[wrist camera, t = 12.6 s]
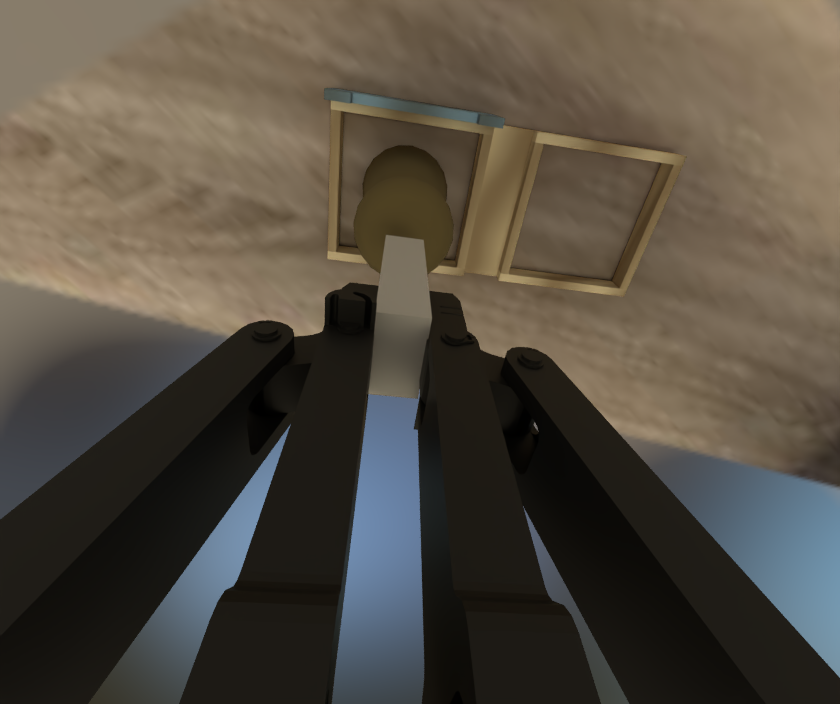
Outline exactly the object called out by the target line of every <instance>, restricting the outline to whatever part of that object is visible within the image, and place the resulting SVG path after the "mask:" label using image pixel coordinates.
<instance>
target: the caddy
mask: <svg viewBox="0 0 840 704" xmlns="http://www.w3.org/2000/svg"><path fill="white" fill-rule="evenodd" d="M324 99H325V100H331V126H330V172H329V217H328V259H332V260H339V261H347V262H355V263H363V264H368V263H367V262H366V261H365V260H364V258H363V257H362V256H361V254H360V251H359V249H358V248H354V247H346V246H339V231H340V204H341V177H342V150H343V123H344V111H345V112H351V113H357V114H363V115H369V116H376V117H382V118H388V119H394V120H400V121H406V122H413V123H419V124H425V125H431V126H437V127H443V128H450V129H456V130H462V131H468V132H474V133H480V136H479V141H478V146H477V151H476V156H475V161H474V166H473V171H472V176H471V181H470V186H469V192H468V197H467V202H466V207H465V212H464V217H463V222H462V227H461V232H460V237H459V242H458V247H457V252H456V258H455V261H454V260H446V259H443V261H442V262H441V263H440V264H439V266H438V267H437V268H436V269H434V270H433V271H431V272H434V273H442V274H450V275H458V276H463V274H464V272H468V273H476V274H484V275H491V276H497V278H498V280H499V281H505V282H513V283H521V284H529V285H537V286H544V287H552V288H560V289H568V290H576V291H584V292H592V293H600V294H608V295H615V296H623V297H624V295H625V293H626V290H627V288H628V286H629V284H630V281H631V279H632V277H633V275H634V273H635V270H636V268H637V266H638V264H639V261H640V259H641V257H642V255H643V253H644V250H645V248H646V246H647V244H648V241H649V239H650V237H651V235H652V233H653V230H654V228H655V226H656V224H657V221H658V219H659V217H660V215H661V213H662V210H663V208H664V206H665V204H666V202H667V199H668V197H669V195H670V193H671V190H672V188H673V186H674V184H675V182H676V179H677V177H678V175H679V173H680V170H681V168H682V166H683V164H684V162H685V159H686V157H687V156H683V155H679V154H675V153H669V152H663V151H657V150H651V149H645V148H639V147H633V146H627V145H621V144H615V143H609V142H603V141H596V140H590V139H584V138H578V137H572V136H566V135H560V134H554V133H548V132H542V131H536V130H530V129H524V128H518V127H512V126H506V125H504V121H505V118H503V117H499V116H496V115H493V114H487V113H481V112H475V111H469V110H463V109H457V108H451V107H445V106H439V105H433V104H427V103H422V102H416V101H410V100H404V99H398V98H392V97H386V96H380V95H374V94H368V93H362V92H356V91H350V90H344V89H338V88H324ZM544 144H548V145H555V146H561V147H567V148H573V149H579V150H585V151H592V152H598V153H604V154H610V155H616V156H622V157H629V158H635V159H641V160H647V161H653V162H659V163H661V166H660V168H659V170H658V173H657V175H656V177H655V180H654V182H653V185H652V187H651V189H650V192H649V194H648V196H647V199H646V201H645V203H644V206H643V208H642V211H641V213H640V215H639V218H638V220H637V222H636V225H635V227H634V229H633V232H632V234H631V236H630V239H629V241H628V244H627V246H626V248H625V251H624V253H623V255H622V258H621V260H620V262H619V265H618V267H617V270H616V272H615V274H614V277H613V279H612V281H607V280H599V279H592V278H584V277H576V276H569V275H561V274H553V273H546V272H538V271H530V270H523V269H515V268H510V266H511V263H512V259H513V255H514V252H515V248H516V245H517V241H518V237H519V234H520V230H521V226H522V223H523V219H524V215H525V212H526V208H527V205H528V201H529V197H530V194H531V190H532V186H533V183H534V179H535V176H536V172H537V168H538V165H539V161H540V157H541V154H542V150H543V146H544Z"/></svg>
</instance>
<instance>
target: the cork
mask: <svg viewBox="0 0 840 704" xmlns="http://www.w3.org/2000/svg"><path fill="white" fill-rule="evenodd" d="M446 197H447V184H446V180H445V176H444V172H443V170H442V169H441V167H440V165H439V164H438V162H437V161H436V160H435V159H434V158H433V157H432V156H431V155H430V154H428V153H427V152H426V151H424V150H422V149H419V148H417V147H414V146H395V147H392V148H389V149H386V150H384V151H383V152H382V153H380V154H379V155H378V156H377V157H375V158H374V159H373V161H372V162H371V164H370V166H369V167H368V169H367V170H366V174H365V177H364V181H363V199H362V201H361V202H360V204H359V205H358V207H357V211H356V215H355V219H354V239H355V241H356V244H357V246H358V249H359V251H360V254H361V256H362V257H363V258H364V260H365V261H366V262H367V263H368V265H369V266H370V267H371V268H373V269H374V270H376V271H377V272H378V273H381V266H382V259H383V252H384V245H385V238H386V235H391V236H398V237H406V238H413V239H421V240H424V248H425V257H426V267H427V274H428V273H430V272H431V271H433V270H434V269H436V268H437V267H438V266H439V264H440V263H441V262H442V261H443V259H444V258H445V257H446V255H447V253H448V251H449V248H450V246H451V243H452V241H453V227H454V224H453V220H452V216H451V212H450V208H449V206H448V204H447V203H446Z"/></svg>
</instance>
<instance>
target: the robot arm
mask: <svg viewBox="0 0 840 704" xmlns="http://www.w3.org/2000/svg"><path fill="white" fill-rule="evenodd" d="M419 388H420V398H419V404H418V409H417V415H416V420H415V426H414V429H417V430H418V446H419V447H418V448H419V486H420V523H421V558H422V594H423V630H424V631H423V632H424V688H423V696H422V704H601V702H600V699H599V696H598V693H597V690H596V686H595V683H594V680H593V677H592V674H591V670H590V667H589V664H588V661H587V658H586V654H585V651H584V648H583V645H582V642H581V638H580V635H579V632H578V630H577V627H576V625H575V623H574V620H573V618H572V616H571V614H570V613H569V611H568V610H567V609H566V608H565V606H564V605H562V604H559V603H557V602H554V601H552V600H551V598H550V597H549V596H548V593H547V591H546V588H545V585H544V581H543V578H542V574H541V570H540V566H539V563H538V559H537V555H536V552H535V548H534V544H533V541H532V537H531V534H530V530H529V527H528V523H527V519H526V515H525V512H524V508H525V510H526V512H527V514H528V516H529V518H530V519H531V521H532V523H533V525H534V527H535V529H536V530H537V533H538V534H539V536H540V538H541V540H542V542H543V544H544V546H545V547H546V549H547V551H548V553H549V555H550V556H551V558H552V560H553V562H554V564H555V566H556V568H557V570H558V572H559V573H560V575H561V577H562V579H563V581H564V583H565V584H566V586H567V588H568V590H569V592H570V594H571V596H572V598H573V599H574V601H575V603H576V605H577V607H578V609H579V611H580V612H581V614H582V616H583V618H584V620H585V622H586V624H587V625H588V627H589V629H590V631H591V633H592V635H593V637H594V639H595V640H596V642H597V644H598V646H599V648H600V650H601V652H602V653H603V655H604V657H605V659H606V661H607V663H608V665H609V666H610V668H611V670H612V672H613V674H614V676H615V677H616V679H617V681H618V683H619V685H620V687H621V689H622V691H623V692H624V694H625V696H626V698H627V700H628V702H629V704H840V678H839V677H838V676H837V674H836V673H835V672H834V671H833V670H832V669H831V668H830V667H829V666H828V664H827V663H826V662H825V661H824V660H823V659H822V658H821V657H820V656H819V655H818V653H817V652H816V651H815V650H814V649H813V648H812V647H811V646H810V645H809V644H808V642H807V641H806V640H805V639H804V638H803V637H802V636H801V635H800V634H799V633H798V631H797V630H796V629H795V628H794V627H793V626H792V625H791V624H790V622H789V621H788V620H787V619H786V618H785V617H784V616H783V615H782V614H781V612H780V611H779V610H778V609H777V608H776V607H775V606H774V605H773V604H772V603H771V601H770V600H769V599H768V598H767V597H766V596H765V595H764V594H763V593H762V591H761V590H760V589H759V588H758V587H757V586H756V585H755V584H754V583H753V582H752V580H751V579H750V578H749V577H748V576H747V575H746V574H745V573H744V572H743V570H742V569H741V568H740V567H739V566H738V565H737V564H736V563H735V562H734V561H733V559H732V558H731V557H730V556H729V555H728V554H727V553H726V552H725V551H724V550H723V548H722V547H721V546H720V545H719V544H718V543H717V542H716V541H715V540H714V538H713V537H712V536H711V535H710V534H709V533H708V532H707V531H706V530H705V528H704V527H703V526H702V525H701V524H700V523H699V522H698V521H697V520H696V518H695V517H694V516H693V515H692V514H691V513H690V512H689V511H688V510H687V508H686V507H685V506H684V505H683V504H682V503H681V502H680V501H679V500H678V499H677V498H676V497H675V495H674V494H673V493H672V492H671V491H670V490H669V489H668V487H667V486H666V485H665V484H664V483H663V482H662V481H661V480H660V479H659V477H658V476H657V475H656V474H655V473H654V472H653V471H652V470H651V469H650V468H649V466H648V465H647V464H646V463H645V462H644V461H643V460H642V459H641V458H640V456H638V454H637V453H636V452H635V451H634V450H633V449H632V448H631V447H630V446H629V444H628V443H627V442H626V441H625V440H624V439H623V438H622V437H621V435H620V434H619V433H618V432H617V431H616V430H615V429H614V428H613V427H612V425H611V424H610V423H609V422H608V421H607V420H606V419H605V418H604V417H603V416H602V414H601V413H600V412H599V411H598V410H597V409H596V408H595V407H594V406H593V404H592V403H591V402H590V401H589V400H588V399H587V398H586V397H585V396H584V395H583V393H582V392H581V391H580V390H579V389H578V388H577V387H576V386H575V385H574V383H573V382H572V381H571V380H570V379H569V378H568V377H567V376H566V375H565V373H564V372H563V371H562V370H561V369H560V368H559V367H558V366H557V365H556V364H555V362H554V361H553V360H552V359H551V358H549V357H548V356H547V355H546V354H544V353H542V352H540V351H538V350H536V349H532V348H528V347H516V348H511V349H510V350H508V351H507V353H506V357H505V358H502V357H498V356H495V355H492V354H489V353H486V352H484V351H482V350H480V347H479V343H478V341H477V339H476V337H475V336H473V335H472V334H471V333H469V332H468V331H467V327H466V323H465V319H464V316H463V311H462V307H461V303H460V301H459V300H458V299H457V298H456V297H455V296H454V295H453V294H450V293H442V292H434V291H429V285H428V276H427V267H426V257H425V248H424V240H421V239H413V238H406V237H398V236H391V235H386V238H385V245H384V252H383V259H382V266H381V273H380V280H379V286H375V285H367V284H358V283H349V284H347V285H346V286H344V287H343V288H342V289H340V290H335V291H332V292H330V293H328V294H327V296H326V297H325V325H324V328H323V331H322V332H320V333H318V334H314V335H308V336H298V337H294V332H293V329H292V328H290V327H289V326H288V325H286V324H283V323H281V322H275V321H269V320H266V321H258V322H254V323H250V324H248V325H246V326H244V327H242V328H241V329H240V330H238V331H237V332H236V333H235V334H233V335H232V336H231V337H230V338H228V339H227V340H226V341H225V342H223V343H222V344H221V345H220V346H218V347H217V348H216V349H214V350H213V351H212V352H211V353H209V354H208V355H207V356H206V357H205V358H203V359H202V360H201V361H200V362H198V363H197V364H196V365H194V366H193V367H192V368H191V369H189V370H188V371H187V372H186V373H184V374H183V375H182V376H181V377H179V378H178V379H177V380H176V381H175V382H173V383H172V384H170V385H169V386H168V387H167V388H166V389H164V390H163V391H162V392H160V393H159V394H158V395H157V396H155V397H154V398H153V399H152V400H150V401H149V402H148V403H147V404H145V405H144V406H143V407H142V408H140V409H139V410H138V411H136V412H135V413H134V414H133V415H131V416H130V417H129V418H128V419H127V420H125V421H124V422H123V423H121V424H120V425H119V426H118V427H116V428H115V429H114V430H113V431H111V432H110V433H109V434H108V435H106V436H105V437H104V438H102V439H101V440H100V441H99V442H98V443H96V444H95V445H94V446H92V447H91V448H90V449H89V450H88V451H86V452H85V453H84V454H82V455H81V456H80V457H79V458H77V459H76V460H75V461H74V462H72V463H71V464H70V465H69V466H68V467H66V468H65V469H63V470H62V471H61V472H60V473H58V474H57V475H56V476H55V477H53V478H52V479H51V480H50V481H48V482H47V483H46V484H45V485H43V486H42V487H41V488H40V489H38V490H37V491H36V492H35V493H33V494H32V495H31V496H29V497H28V498H27V499H26V500H24V501H23V502H22V503H21V504H19V505H18V506H17V507H16V508H15V509H13V510H12V511H11V512H9V513H8V514H7V515H6V516H4V517H3V518H2V519H0V704H88V703H89V701H90V700H91V698H92V697H93V696H94V695H95V693H96V692H97V690H98V689H99V688H100V686H101V685H102V683H103V682H104V681H105V679H106V678H107V677H108V675H109V674H110V672H111V671H112V670H113V668H114V667H115V666H116V664H117V663H118V661H119V660H120V658H121V657H122V656H123V654H124V653H125V652H126V650H127V649H128V648H129V646H130V645H131V643H132V642H133V641H134V639H135V638H136V637H137V635H138V634H139V632H140V631H141V630H142V628H143V627H144V626H145V624H146V623H147V621H148V620H149V618H150V617H151V616H152V614H153V613H154V612H155V610H156V609H157V607H158V606H159V605H160V603H161V602H162V601H163V599H164V598H165V597H166V595H167V594H168V592H169V591H170V590H171V588H172V587H173V585H174V584H175V583H176V581H177V580H178V579H179V577H180V576H181V574H182V573H183V572H184V570H185V569H186V567H187V566H188V565H189V563H190V562H191V561H192V559H193V558H194V556H195V555H196V554H197V552H198V551H199V550H200V548H201V547H202V545H203V544H204V543H205V541H206V540H207V539H208V537H209V535H210V534H211V533H212V531H213V530H214V529H215V528H216V526H217V525H218V523H219V522H220V521H221V519H222V518H223V517H224V515H225V514H226V512H227V511H228V510H229V508H230V507H231V505H232V504H233V503H234V501H235V500H236V499H237V497H238V496H239V494H240V493H241V492H242V490H243V489H244V488H245V486H246V485H247V483H248V482H249V481H250V479H251V478H252V476H253V475H254V474H255V472H256V471H257V470H258V468H259V467H260V465H261V464H262V463H263V461H264V460H265V459H266V457H267V456H268V454H269V453H270V451H271V450H272V449H273V448H274V446H275V445H276V443H277V442H278V441H279V439H280V438H281V436H282V435H283V434H284V432H285V431H286V430H287V428H288V427H289V425H290V424H291V426H290V428H289V431H288V434H287V437H286V440H285V443H284V446H283V449H282V452H281V455H280V458H279V461H278V464H277V467H276V470H275V472H274V475H273V478H272V481H271V484H270V487H269V490H268V493H267V496H266V499H265V502H264V505H263V508H262V511H261V514H260V517H259V520H258V523H257V525H256V528H255V531H254V534H253V537H252V540H251V543H250V546H249V549H248V552H247V555H246V558H245V561H244V564H243V567H242V570H241V572H240V575H239V577H238V580H237V582H236V583H235V585H234V586H233V587H231V588H229V589H227V590H225V591H224V593H223V594H222V596H221V598H220V599H219V601H218V602H217V605H216V607H215V609H214V612H213V614H212V617H211V619H210V621H209V624H208V627H207V629H206V632H205V635H204V638H203V641H202V643H201V646H200V649H199V652H198V654H197V657H196V660H195V662H194V665H193V668H192V670H191V673H190V676H189V679H188V681H187V684H186V687H185V689H184V692H183V695H182V698H181V700H180V703H179V704H332V695H333V686H334V676H335V668H336V659H337V651H338V643H339V634H340V625H341V618H342V610H343V601H344V593H345V585H346V577H347V568H348V560H349V552H350V543H351V535H352V527H353V519H354V511H355V501H356V493H357V485H358V477H359V469H360V461H361V453H362V444H363V436H364V428H365V420H366V410H367V403H368V394H373V395H385V396H396V397H406V398H418V394H419ZM534 422H535V423H536V425H537V427H538V431H539V432H538V431H537V430H536V428H535V427H534ZM523 506H524V508H523Z"/></svg>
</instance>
